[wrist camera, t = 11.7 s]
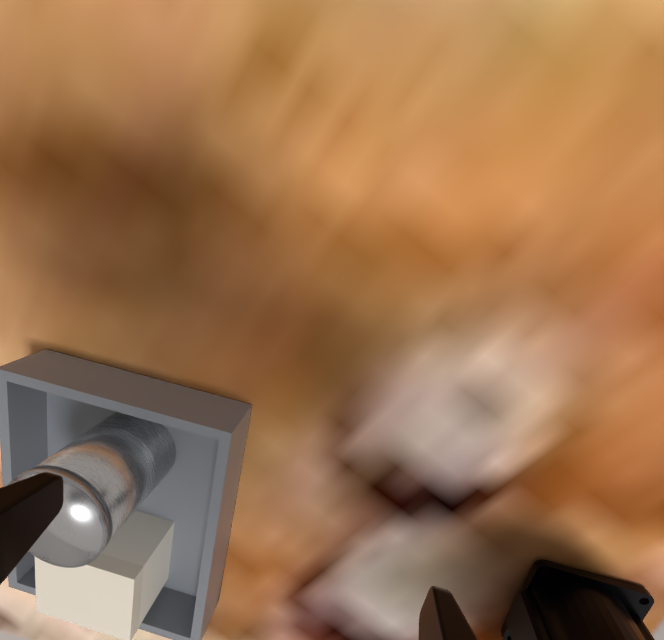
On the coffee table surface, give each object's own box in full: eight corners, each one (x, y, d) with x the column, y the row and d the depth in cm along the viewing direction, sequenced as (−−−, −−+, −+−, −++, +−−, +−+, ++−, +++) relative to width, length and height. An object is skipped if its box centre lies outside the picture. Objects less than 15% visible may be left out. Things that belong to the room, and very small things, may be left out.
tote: (252, 404, 21) (231, 433, 19) (218, 600, 26) (198, 647, 23) (45, 349, 22) (-4, 368, 19) (48, 547, 27) (8, 586, 24)
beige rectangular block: (174, 521, 24) (134, 579, 20) (168, 578, 25) (129, 642, 21) (89, 496, 24) (34, 548, 20) (87, 553, 26) (36, 611, 22)
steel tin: (174, 491, 23) (103, 580, 17) (98, 470, 23) (4, 550, 18) (180, 419, 22) (106, 490, 16) (99, 398, 22) (-2, 459, 16)
